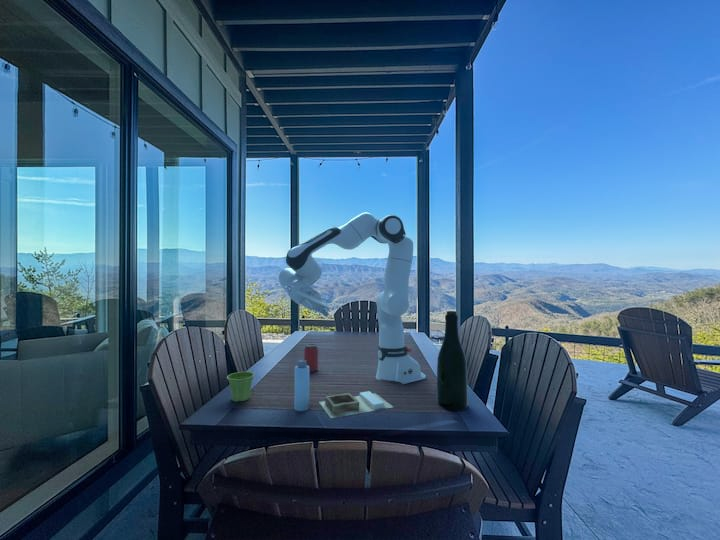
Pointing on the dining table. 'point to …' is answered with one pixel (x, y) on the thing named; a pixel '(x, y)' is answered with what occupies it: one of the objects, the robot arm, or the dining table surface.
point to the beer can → (311, 357)
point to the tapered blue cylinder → (301, 386)
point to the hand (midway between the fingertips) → (319, 312)
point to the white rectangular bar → (372, 400)
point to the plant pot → (240, 385)
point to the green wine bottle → (452, 368)
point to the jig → (348, 405)
